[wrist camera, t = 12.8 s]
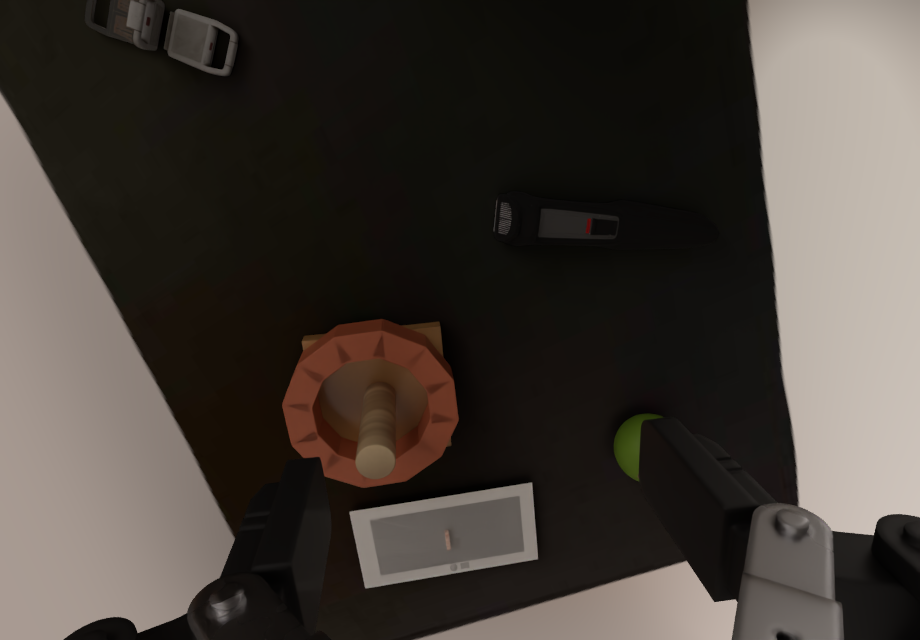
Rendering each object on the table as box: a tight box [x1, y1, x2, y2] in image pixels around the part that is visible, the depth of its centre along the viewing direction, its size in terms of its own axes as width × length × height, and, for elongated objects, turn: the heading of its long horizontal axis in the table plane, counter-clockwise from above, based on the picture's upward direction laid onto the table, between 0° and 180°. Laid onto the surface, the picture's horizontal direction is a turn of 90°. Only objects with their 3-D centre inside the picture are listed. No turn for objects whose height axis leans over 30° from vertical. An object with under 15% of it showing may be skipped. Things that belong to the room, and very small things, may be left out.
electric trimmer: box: [493, 191, 719, 250], centre depth 39 cm, size 4×16×3 cm, turn 86°
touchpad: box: [349, 483, 538, 588], centre depth 46 cm, size 8×15×2 cm, turn 97°
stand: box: [302, 322, 451, 479], centre depth 38 cm, size 10×10×10 cm
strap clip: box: [85, 0, 239, 76], centre depth 32 cm, size 8×3×4 cm, turn 71°
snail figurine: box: [614, 413, 665, 481], centre depth 41 cm, size 5×6×12 cm
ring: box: [282, 319, 459, 488], centre depth 40 cm, size 12×12×3 cm
